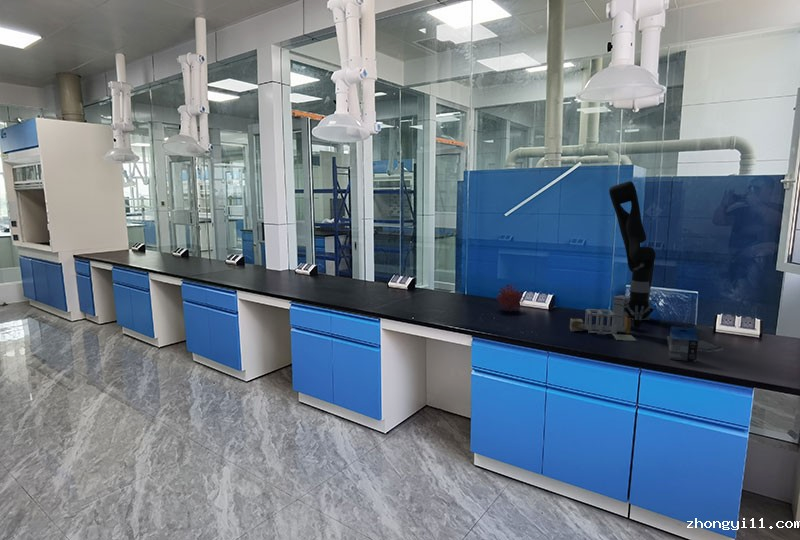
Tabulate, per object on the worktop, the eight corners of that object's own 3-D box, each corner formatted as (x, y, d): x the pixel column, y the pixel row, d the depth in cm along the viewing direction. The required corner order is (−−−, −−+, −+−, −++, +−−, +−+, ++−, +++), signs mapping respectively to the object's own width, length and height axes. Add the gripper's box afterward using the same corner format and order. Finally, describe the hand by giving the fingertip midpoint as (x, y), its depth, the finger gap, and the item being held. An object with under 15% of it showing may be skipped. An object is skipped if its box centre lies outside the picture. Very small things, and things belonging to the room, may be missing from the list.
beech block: (580, 329, 216) (581, 319, 215) (582, 332, 211) (583, 321, 210) (569, 328, 217) (570, 318, 216) (571, 331, 212) (571, 321, 211)
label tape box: (669, 359, 174) (672, 328, 172) (667, 356, 178) (670, 326, 176) (696, 362, 171) (699, 331, 169) (693, 359, 175) (697, 328, 173)
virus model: (493, 313, 247) (494, 286, 245) (498, 307, 261) (499, 281, 258) (521, 315, 242) (522, 288, 239) (524, 309, 255) (525, 283, 253)
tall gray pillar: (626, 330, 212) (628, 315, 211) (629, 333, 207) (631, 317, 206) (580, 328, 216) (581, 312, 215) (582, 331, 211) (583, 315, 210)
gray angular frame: (612, 329, 215) (613, 310, 214) (617, 335, 206) (619, 314, 205) (584, 328, 218) (585, 308, 216) (588, 333, 208) (589, 313, 207)
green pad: (631, 336, 204) (631, 335, 204) (636, 341, 196) (636, 340, 196) (612, 335, 206) (612, 334, 206) (616, 340, 198) (616, 339, 198)
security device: (732, 357, 178) (732, 353, 178) (667, 348, 189) (667, 343, 189) (726, 346, 193) (727, 341, 193) (666, 338, 204) (667, 334, 204)
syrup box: (622, 327, 219) (624, 298, 217) (611, 324, 224) (613, 295, 222) (629, 326, 222) (632, 297, 219) (619, 323, 227) (621, 294, 225)
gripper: (652, 289, 208) (649, 325, 211) (621, 288, 211) (619, 324, 213) (658, 292, 201) (655, 330, 203) (626, 291, 203) (623, 328, 206)
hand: (636, 327), depth 208 cm, fingers closed
